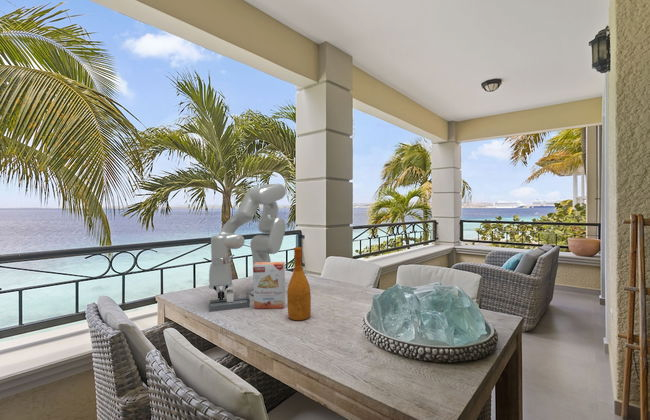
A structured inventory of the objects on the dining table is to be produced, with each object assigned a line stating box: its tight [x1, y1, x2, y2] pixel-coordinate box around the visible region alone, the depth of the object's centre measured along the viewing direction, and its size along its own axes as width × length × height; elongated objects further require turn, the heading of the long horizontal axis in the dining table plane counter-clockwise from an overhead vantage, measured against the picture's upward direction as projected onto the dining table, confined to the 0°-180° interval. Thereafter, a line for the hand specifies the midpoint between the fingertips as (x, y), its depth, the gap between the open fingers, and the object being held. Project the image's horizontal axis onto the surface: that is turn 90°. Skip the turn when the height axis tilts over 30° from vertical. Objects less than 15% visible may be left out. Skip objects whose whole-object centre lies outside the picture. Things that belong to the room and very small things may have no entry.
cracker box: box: [252, 261, 286, 310], centre depth 147 cm, size 14×6×21 cm, turn 90°
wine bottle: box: [286, 246, 312, 321], centre depth 133 cm, size 10×10×30 cm
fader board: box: [208, 292, 251, 313], centre depth 149 cm, size 18×10×4 cm, turn 107°
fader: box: [226, 288, 234, 302], centre depth 149 cm, size 3×5×5 cm, turn 17°
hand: (221, 299), depth 148 cm, fingers closed
